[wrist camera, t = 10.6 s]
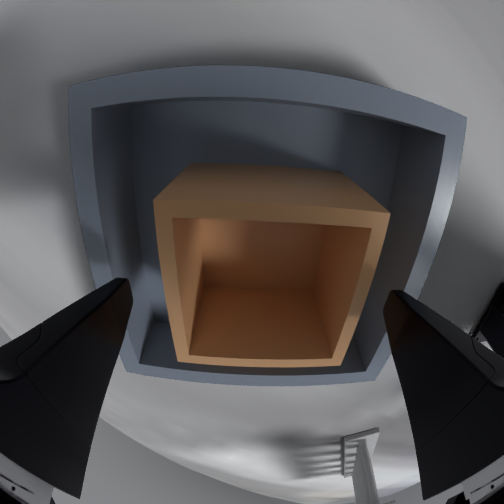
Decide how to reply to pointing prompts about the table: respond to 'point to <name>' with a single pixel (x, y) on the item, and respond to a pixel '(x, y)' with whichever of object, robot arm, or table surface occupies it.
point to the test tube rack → (362, 465)
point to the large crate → (257, 153)
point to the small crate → (266, 263)
